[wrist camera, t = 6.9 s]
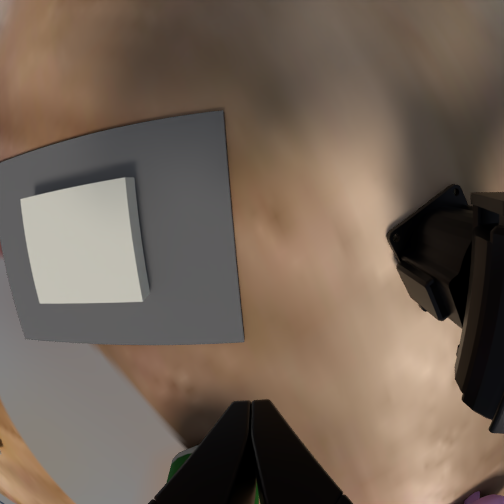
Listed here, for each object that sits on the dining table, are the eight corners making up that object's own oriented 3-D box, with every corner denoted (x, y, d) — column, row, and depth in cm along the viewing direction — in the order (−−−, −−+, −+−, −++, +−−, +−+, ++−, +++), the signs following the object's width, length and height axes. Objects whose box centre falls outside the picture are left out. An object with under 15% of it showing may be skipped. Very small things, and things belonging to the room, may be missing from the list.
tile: (125, 177, 16) (20, 199, 16) (142, 301, 17) (39, 303, 17) (136, 177, 17) (35, 196, 17) (151, 291, 19) (52, 295, 19)
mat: (223, 111, 17) (222, 110, 16) (244, 339, 20) (244, 342, 20) (-4, 165, 17) (-8, 165, 17) (28, 337, 20) (25, 338, 20)
